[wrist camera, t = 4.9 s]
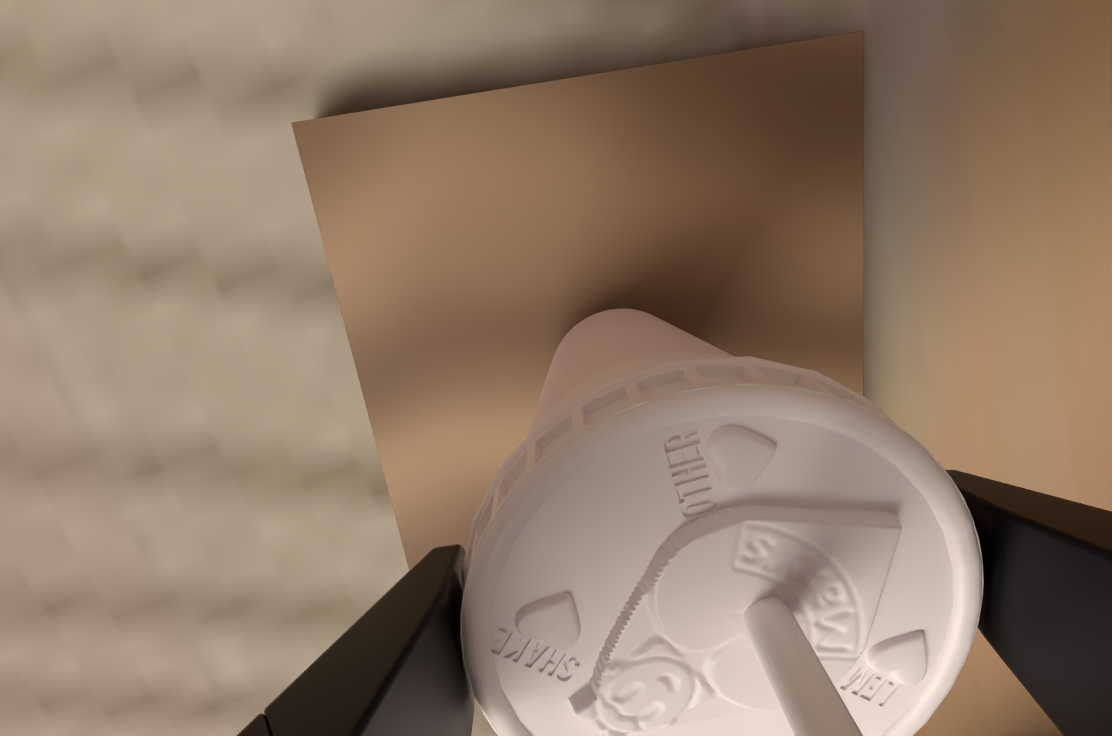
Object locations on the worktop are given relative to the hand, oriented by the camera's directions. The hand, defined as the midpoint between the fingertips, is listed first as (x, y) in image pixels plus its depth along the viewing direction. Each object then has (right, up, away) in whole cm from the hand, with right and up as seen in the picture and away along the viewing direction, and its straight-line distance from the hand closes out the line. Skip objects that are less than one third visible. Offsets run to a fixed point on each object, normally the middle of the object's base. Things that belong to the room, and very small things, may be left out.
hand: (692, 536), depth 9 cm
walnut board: (0, +3, +10) cm, 11 cm away
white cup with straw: (0, +2, +8) cm, 8 cm away
